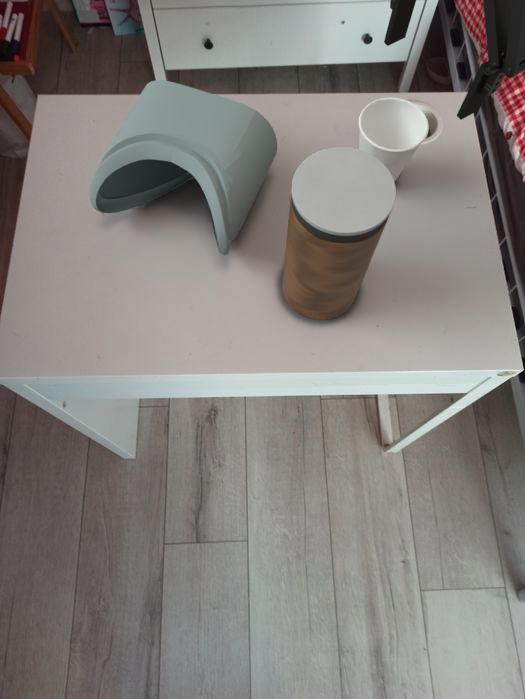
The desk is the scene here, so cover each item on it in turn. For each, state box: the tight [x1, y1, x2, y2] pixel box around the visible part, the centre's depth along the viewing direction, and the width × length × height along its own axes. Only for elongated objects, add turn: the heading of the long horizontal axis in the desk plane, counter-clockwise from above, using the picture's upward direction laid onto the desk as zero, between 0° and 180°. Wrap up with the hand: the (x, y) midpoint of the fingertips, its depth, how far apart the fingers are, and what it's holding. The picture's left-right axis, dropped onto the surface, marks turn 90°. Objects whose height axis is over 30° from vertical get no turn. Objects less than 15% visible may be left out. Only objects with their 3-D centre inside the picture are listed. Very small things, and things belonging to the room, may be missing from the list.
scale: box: [290, 146, 397, 243], centre depth 52 cm, size 11×11×2 cm
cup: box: [358, 96, 430, 183], centre depth 74 cm, size 10×10×11 cm
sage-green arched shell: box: [88, 79, 278, 256], centre depth 71 cm, size 22×19×13 cm
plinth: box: [282, 192, 391, 321], centre depth 63 cm, size 11×11×20 cm
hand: (429, 75), depth 57 cm, fingers open, 13 cm apart
